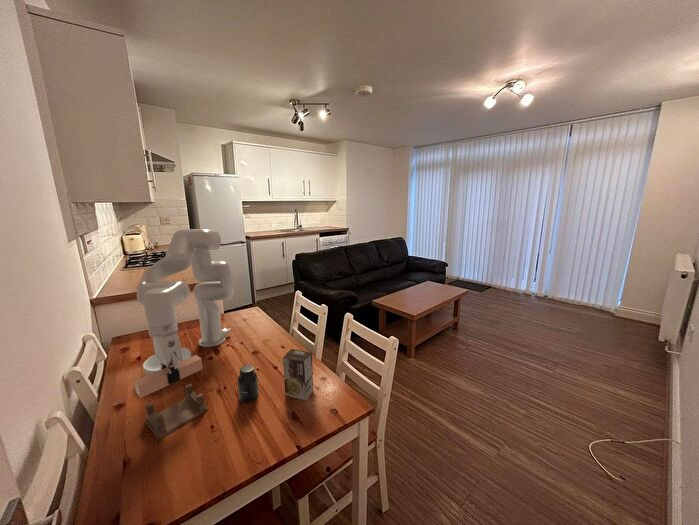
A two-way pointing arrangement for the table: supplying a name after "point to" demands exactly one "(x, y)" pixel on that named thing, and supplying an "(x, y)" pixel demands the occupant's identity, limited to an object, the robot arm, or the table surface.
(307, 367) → the coffee box
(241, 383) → the supplement bottle
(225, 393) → the table surface
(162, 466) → the table surface
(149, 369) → the cereal bowl
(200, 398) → the plate with corner blocks
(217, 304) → the robot arm
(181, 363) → the pink rectangular bar
